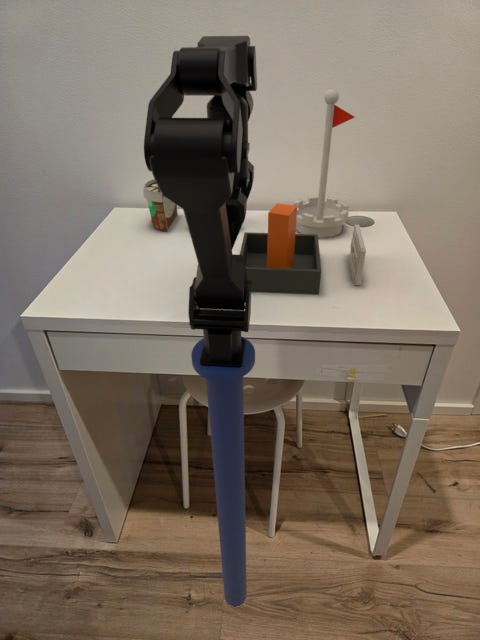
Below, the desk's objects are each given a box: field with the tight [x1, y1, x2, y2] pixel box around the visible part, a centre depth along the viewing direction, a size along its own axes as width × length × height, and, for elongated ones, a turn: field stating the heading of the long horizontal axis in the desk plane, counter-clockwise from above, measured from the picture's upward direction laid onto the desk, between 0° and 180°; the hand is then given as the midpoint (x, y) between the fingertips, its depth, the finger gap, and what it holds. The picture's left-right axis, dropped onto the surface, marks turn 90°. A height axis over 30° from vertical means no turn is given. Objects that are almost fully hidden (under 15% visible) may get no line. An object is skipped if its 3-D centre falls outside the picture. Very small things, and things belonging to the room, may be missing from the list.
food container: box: [142, 178, 178, 233], centre depth 106 cm, size 12×6×10 cm, turn 172°
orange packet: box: [267, 202, 297, 269], centre depth 84 cm, size 5×4×13 cm
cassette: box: [348, 223, 367, 286], centre depth 86 cm, size 12×2×8 cm, turn 174°
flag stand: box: [293, 88, 356, 239], centre depth 96 cm, size 13×13×30 cm
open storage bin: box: [239, 231, 322, 295], centre depth 87 cm, size 15×15×5 cm
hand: (231, 238), depth 72 cm, fingers open, 9 cm apart
